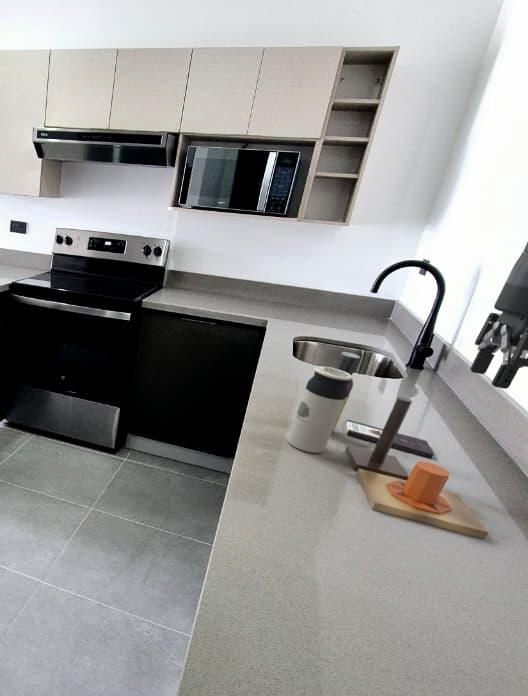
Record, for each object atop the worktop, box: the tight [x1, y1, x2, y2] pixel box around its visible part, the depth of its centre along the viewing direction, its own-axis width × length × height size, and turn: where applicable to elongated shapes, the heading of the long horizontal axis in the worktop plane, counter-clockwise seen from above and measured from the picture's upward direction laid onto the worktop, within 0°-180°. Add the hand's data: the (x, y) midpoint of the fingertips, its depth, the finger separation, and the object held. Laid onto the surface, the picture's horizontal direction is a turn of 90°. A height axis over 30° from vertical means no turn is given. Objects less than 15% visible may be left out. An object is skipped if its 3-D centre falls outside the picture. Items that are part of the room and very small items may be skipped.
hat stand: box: [344, 396, 413, 481], centre depth 106 cm, size 10×10×16 cm
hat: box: [386, 461, 452, 514], centre depth 94 cm, size 10×10×6 cm
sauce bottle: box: [331, 351, 361, 434], centre depth 121 cm, size 7×6×20 cm
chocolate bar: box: [345, 419, 434, 459], centre depth 124 cm, size 9×1×18 cm
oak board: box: [355, 469, 489, 540], centre depth 96 cm, size 18×14×2 cm
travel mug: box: [286, 365, 353, 454], centre depth 111 cm, size 8×8×18 cm
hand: (487, 379), depth 86 cm, fingers open, 8 cm apart
